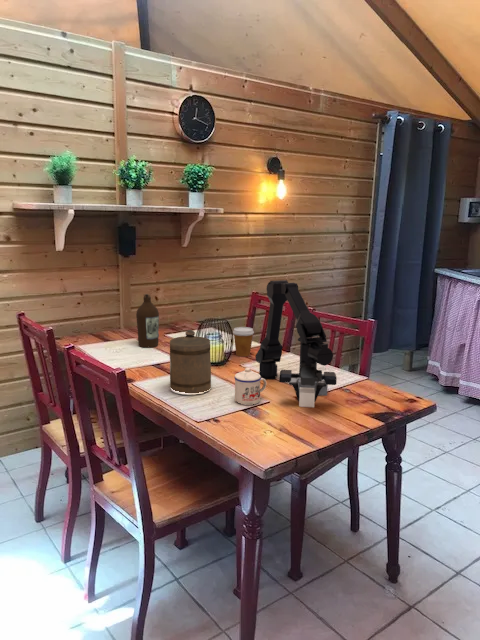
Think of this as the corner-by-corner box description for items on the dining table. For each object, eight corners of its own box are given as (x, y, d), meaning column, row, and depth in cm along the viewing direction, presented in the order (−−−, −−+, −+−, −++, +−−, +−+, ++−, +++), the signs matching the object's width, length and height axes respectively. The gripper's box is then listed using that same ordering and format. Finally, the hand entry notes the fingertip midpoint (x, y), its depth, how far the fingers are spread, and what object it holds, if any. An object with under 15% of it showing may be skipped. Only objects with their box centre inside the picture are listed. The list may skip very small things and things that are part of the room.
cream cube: (299, 406, 166) (299, 392, 165) (299, 401, 171) (299, 387, 170) (314, 407, 166) (314, 393, 165) (313, 401, 170) (314, 388, 169)
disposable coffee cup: (257, 354, 227) (257, 328, 225) (246, 359, 219) (246, 332, 217) (239, 350, 232) (240, 325, 230) (228, 355, 224) (228, 329, 222)
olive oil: (133, 345, 240) (131, 294, 235) (151, 341, 247) (150, 291, 242) (145, 349, 233) (143, 296, 227) (164, 345, 240) (162, 294, 235)
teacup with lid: (242, 407, 165) (242, 374, 162) (229, 398, 172) (229, 366, 170) (272, 401, 170) (273, 368, 168) (258, 393, 178) (259, 361, 176)
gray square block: (298, 395, 177) (299, 382, 176) (296, 385, 187) (297, 373, 186) (327, 396, 177) (327, 382, 176) (323, 386, 186) (324, 373, 185)
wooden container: (188, 379, 192) (188, 324, 187) (219, 387, 184) (219, 329, 179) (161, 390, 180) (160, 331, 175) (192, 399, 172) (192, 337, 167)
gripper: (279, 362, 158) (278, 408, 161) (338, 365, 156) (336, 412, 159) (280, 353, 169) (279, 396, 172) (336, 355, 167) (334, 399, 170)
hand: (306, 401), depth 168 cm, fingers closed on cream cube, 5 cm apart
